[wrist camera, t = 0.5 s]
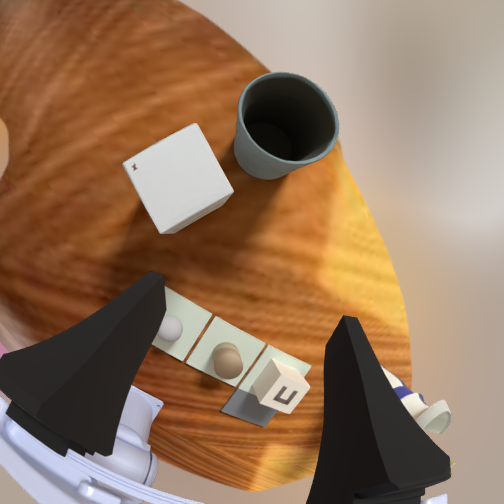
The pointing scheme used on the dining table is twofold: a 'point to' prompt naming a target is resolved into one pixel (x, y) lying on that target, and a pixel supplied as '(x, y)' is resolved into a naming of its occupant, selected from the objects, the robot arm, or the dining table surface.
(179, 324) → the grey ball
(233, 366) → the cork
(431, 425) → the cream belted figurine
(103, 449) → the robot arm
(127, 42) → the dining table surface
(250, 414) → the slate mat
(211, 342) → the tile set
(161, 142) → the supplement box
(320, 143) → the grey plant pot
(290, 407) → the letter cube
